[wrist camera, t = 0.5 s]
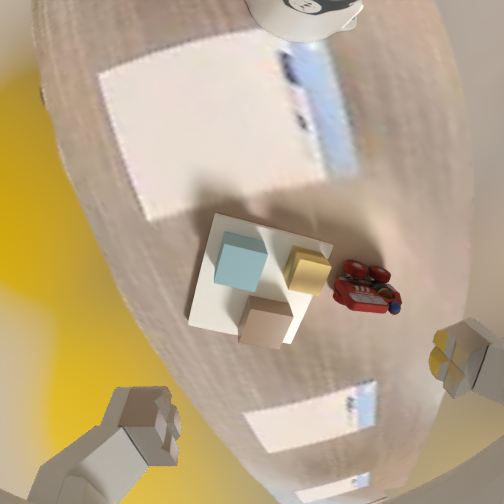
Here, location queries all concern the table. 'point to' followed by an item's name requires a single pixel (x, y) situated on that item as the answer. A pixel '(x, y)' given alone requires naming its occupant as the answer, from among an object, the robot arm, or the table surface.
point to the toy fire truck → (366, 290)
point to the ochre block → (306, 271)
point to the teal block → (240, 262)
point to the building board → (247, 302)
